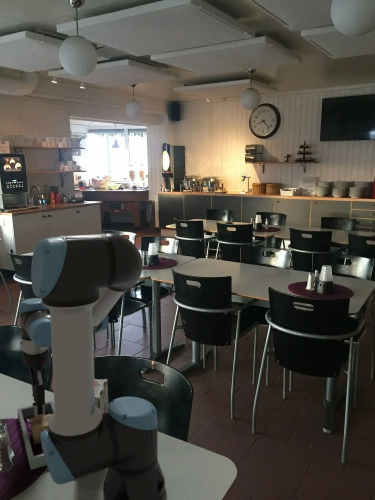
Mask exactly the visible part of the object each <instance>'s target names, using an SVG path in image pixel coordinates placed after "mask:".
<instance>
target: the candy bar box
mask: <svg viewBox="0 0 375 500" xmlns="http://www.w3.org/2000/svg"><path fill="white" fill-rule="evenodd" d="M94 384H95V407H97V408H98V409H99V410H100V411H101V413H106V412H108V411H107V408H108V405H109V387H108V385H109V384H108V379H107V378H102V379H101V378H99V379H97V378H94Z"/></svg>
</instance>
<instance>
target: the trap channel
mask: <svg viewBox="0 0 375 500" xmlns="http://www.w3.org/2000/svg"><path fill="white" fill-rule="evenodd" d="M44 411H45V415H48V414H49V412H50V414H51V415H52V414H53V413H54V412H55V403H54V400H50V401H45V404H44ZM17 418H18V419H19V420H18V423H19V422H20V424H19V427H20V426H21V428H20V431H21V430H22V432H21V435H23V436H22V439H24V440H23V443H25V444H24V447H25V451H26V455H27V460H28V463H29V467H30V470H31V471H32V470H35V469H39V468H41V467H46V466H47V463H46V460H45V457H44V453H43V452H42V453H41V454H37V455H34V453H33V448H32V445H31V441H30V438H29V433H28V431H27V430H28V429H27V427H26V426H27V425H26V421H25V420H26V419H29V420H31V418H35V411H34V406H33V404H31V405H29V406H23V407H20V408H17ZM24 418H25V419H24Z"/></svg>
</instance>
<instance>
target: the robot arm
mask: <svg viewBox="0 0 375 500" xmlns="http://www.w3.org/2000/svg"><path fill="white" fill-rule="evenodd" d="M143 264H144V263H143V257H142V254H141V253H140V250H139V249H138V247H137V246H136V244H135V243H133V242H132V241H131V240H130V239H128V238H127V237H125V236H123V235H121V234H117V233H111V232H105V233H104V232H103V233H95V234H94V233H93V234H91V233H90V234H77V235H75V234H73V235H58V236H53V237H52V236H51V237H47V238H43V239H40V241H38V242H37V244H36V245H35V248H34V249H33V254H32V258H31V265H30V266H31V268H30V280H31V289H32V292H33V294H34V296H36V297H33V298H28V299H27V298H26V299H24V300H22V301H20V302H19V312H18V314H19V320H20V321H19V322H20V334H21V341H20V342H19V345H20V346H22V347H21V349H22V363H23V365H24V366H26V367H29V368H28V369H29V370H28V371H29V373H30V375H29V376H30V380H31V381H30V382H31V391H32V395H31V396H32V398H33V399H32V400H33V402H32V405H33V406H34V411H35V417H39V416H44V415H45V411H44V404H45V402H46V389H45V388H46V378H45V373H46V371H45V368H44V365H46V364H47V363H49V361H50V349H49V347H51V356H52V357H51V360H52V375H53V376H52V379H53V380H52V381H53V397H54V400H53V403H54V405H55V412H54V413H53V414H52V413H51V417H50V418H49V421H48V430H44V431H43V432H41V434H40V435H41V436H40V439H41V443H40V445H41V449H42V454H43V453H44V457H45V460H46V463H47V465H46V466H47V470H48V472H49V474H50V477H51V479H52V481H53V482H54V483H55V484H57V485H65V484H68V483H71V482H77V480H79V479H81V478H85V477H87V476H89V475H92V474H95V473H98V472H101V471H103V470H106V469H107V472H106V475H105V478H104V481H103V486H102V489H103V490H102V491H103V500H163V498H164V495H165V493H166V480H165V479H166V478H165V476H164V473H163V470H162V468H161V465H160V462H159V458H158V454H159V453H158V450H159V449H158V442H159V441H158V426H159V422H158V414H157V413H158V412H157V409H156V407H155V406H154V404H153V403H152V402H151V401H150V400H149V401H148V400H147V399H144V398H141V397H137V396H121V397H117V398H115V399H112V401H110V402H109V403H108V408H107V411H108V412H106V413H101V411H100V410H99V409H98V408H97V407H95V384H94V379H95V357H94V355H95V354H94V334H97V333H98V332H103V331H106V329H108V325H109V315H108V314H109V313H110V311H111V310H112V309H113V308H114V306H116V303H117V302H118V301H119V299H120V298H121V297H122V296H123V295H124V293H127V292H128V291H130V290H131V289H133V287H135V286H136V285H137V283H138V282H139V280H140V278H141V276H142V273H143V268H144V267H143ZM47 310H49V313H48V311H47Z"/></svg>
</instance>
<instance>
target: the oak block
mask: <svg viewBox="0 0 375 500" xmlns="http://www.w3.org/2000/svg"><path fill="white" fill-rule="evenodd" d="M51 415H52V413H48V415H44V416H39V417H35V418H31V422H30V423H31V430H30V432H32V434H31V437H33V438H32V441H34V442H33V445H37V444H36V443H38V444H41V443H40V442H41V439H40V436H41V435H40V434H41V432H43V431H44V430H48V421H49V418H50V417H51Z"/></svg>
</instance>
